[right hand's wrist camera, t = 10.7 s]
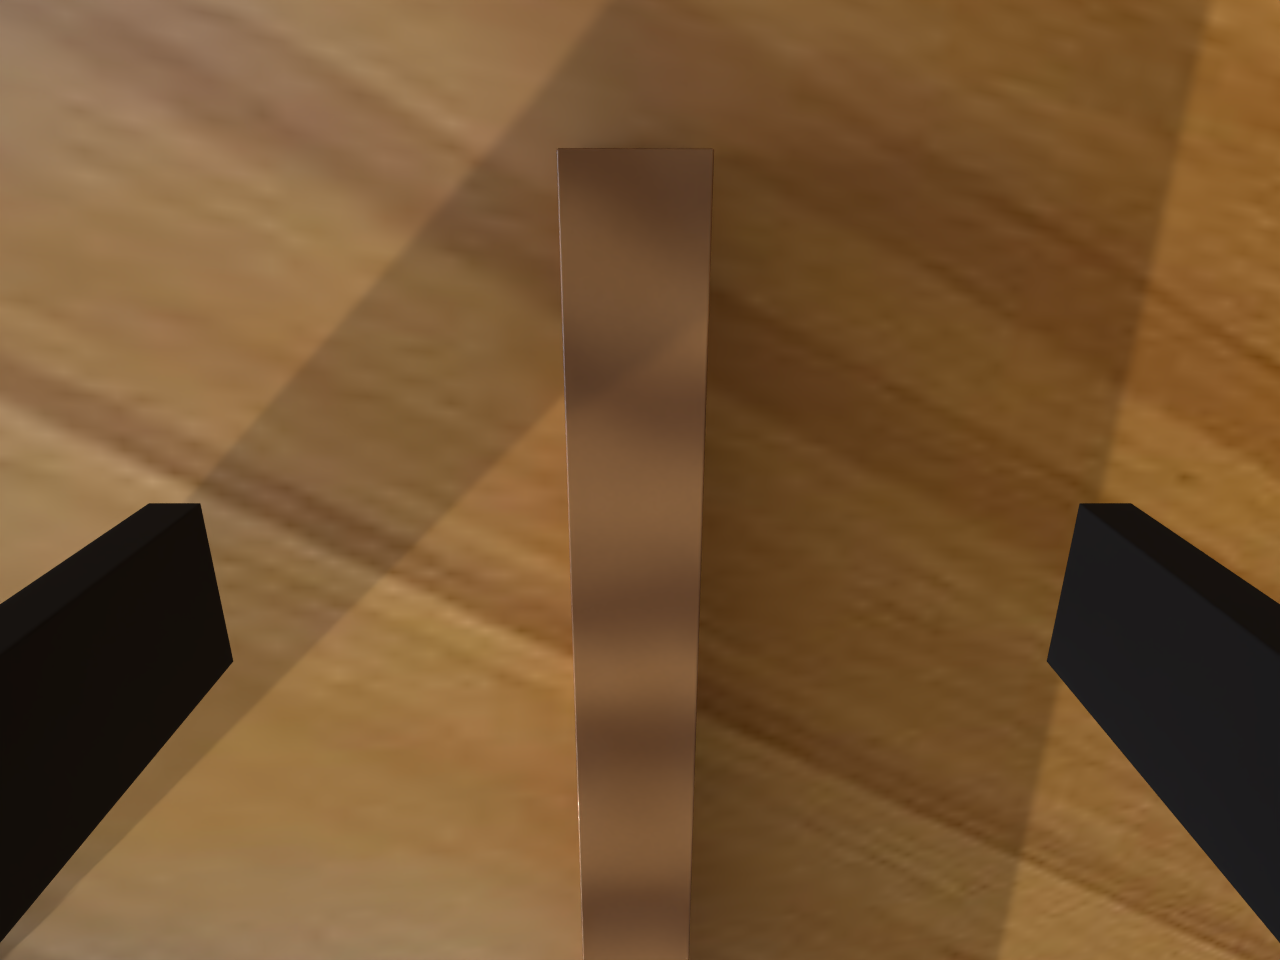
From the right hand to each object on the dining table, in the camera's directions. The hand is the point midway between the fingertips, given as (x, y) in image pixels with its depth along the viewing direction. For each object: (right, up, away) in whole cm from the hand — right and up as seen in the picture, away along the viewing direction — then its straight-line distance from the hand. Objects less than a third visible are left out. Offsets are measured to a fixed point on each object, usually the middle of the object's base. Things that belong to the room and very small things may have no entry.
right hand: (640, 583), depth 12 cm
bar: (0, -16, +32) cm, 36 cm away
